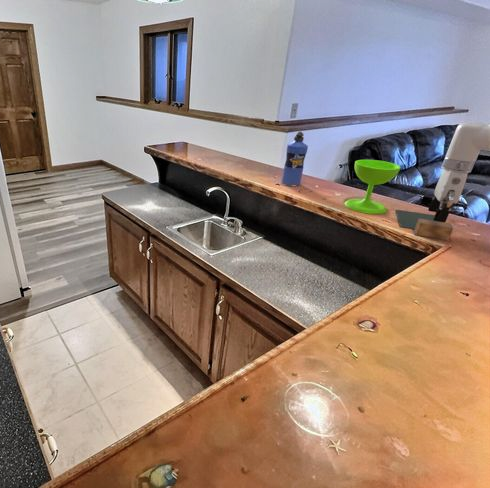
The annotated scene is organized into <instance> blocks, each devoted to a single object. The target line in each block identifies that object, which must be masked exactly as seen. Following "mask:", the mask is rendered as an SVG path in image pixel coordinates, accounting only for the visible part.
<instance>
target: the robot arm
mask: <svg viewBox="0 0 490 488" xmlns="http://www.w3.org/2000/svg"><path fill="white" fill-rule="evenodd" d="M481 151H486V152H490V123H489V124H486V123H480V122H479V123H478V122H472V121H471V122H469V121H468V122H467V121H466V122H465V121H464V122H461V123H459V124H458V125H457V127H456V128H455V131H454V133H453V136H452V139H451V141H450V143H449V147H448V149H447V151H446V154H445V156H444V159H443V161H442V163H441V166H440V168H441V169H443V170H442V172H441V175H440V176H439V178H438V181H437V183H436V186H435V189H434V192H433V196H432V199H431V201H430V204H429V206H428V208H427V211H428V212H431V213H435V214H434V215H435V216H434V219H433V220H434V221H438V222H445V223H447V220H448V217H449V215H450V213H451V210H452V208H453V205H456V204H458V203H459V200H460V198H461V196H462V195H461V194H462V192H463V191H464V187H465V185H466V182H467V179H468V174H470V173H471V172H472V170H473V168H474V167H475V166H474V165H475V163H476V161H477V159H478V158H479V157H478V156H479V154H480V152H481Z"/></svg>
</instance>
